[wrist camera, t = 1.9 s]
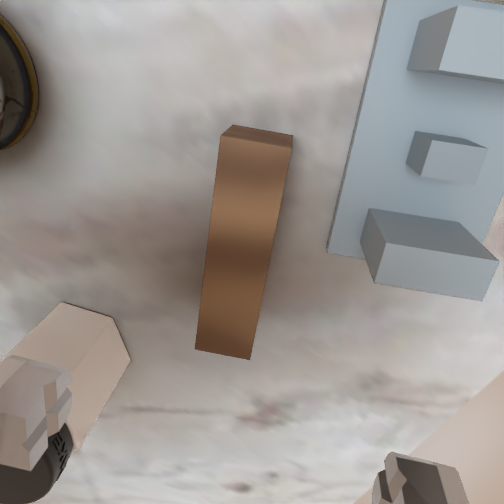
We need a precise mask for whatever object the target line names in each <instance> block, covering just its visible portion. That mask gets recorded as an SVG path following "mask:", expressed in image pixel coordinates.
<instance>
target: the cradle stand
mask: <svg viewBox="0 0 504 504" xmlns="http://www.w3.org/2000/svg"><path fill="white" fill-rule="evenodd" d="M503 193H504V5H502V4H495V3H487V2H480V1H473V0H384V3H383V8H382V12H381V16H380V20H379V25H378V29H377V33H376V37H375V42H374V46H373V50H372V55H371V59H370V63H369V67H368V72H367V76H366V80H365V84H364V89H363V93H362V97H361V102H360V106H359V110H358V114H357V119H356V123H355V127H354V131H353V136H352V140H351V144H350V149H349V153H348V157H347V161H346V166H345V170H344V174H343V178H342V183H341V187H340V191H339V196H338V200H337V204H336V208H335V213H334V217H333V221H332V225H331V230H330V234H329V238H328V243H327V247H326V248H327V253H330V254H337V255H343V256H349V257H355V258H361V259H366V261H367V264H368V267H369V270H370V273H371V276H372V278H373V281H374V283H376V284H382V285H388V286H394V287H400V288H406V289H411V290H417V291H423V292H429V293H435V294H441V295H447V296H453V297H459V298H465V299H471V300H477V301H482V300H483V298H484V296H485V294H486V291H487V289H488V287H489V285H490V282H491V280H492V278H493V276H494V273H495V271H496V269H497V267H498V264H499V262H500V261H499V260H498V259H497V258H496V257H495V256H494V255H493V254H491V253H490V252H489V251H488V250H487V249H486V248H485V247H484V246H483V245H482V244H483V242H484V239H485V237H486V234H487V232H488V230H489V227H490V225H491V222H492V220H493V217H494V215H495V213H496V210H497V208H498V205H499V203H500V201H501V198H502V196H503Z"/></svg>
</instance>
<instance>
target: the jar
mask: <svg viewBox="0 0 504 504" xmlns="http://www.w3.org/2000/svg"><path fill="white" fill-rule="evenodd" d="M11 355H16V356H20V357H23V358H27V359H31V360H35V361H38V362H42V363H45V364H49V365H52V366H56V367H59V368H63V369H66V370H69V371H71V376H72V381H71V383H70V384H69V385H68V389H69V390H70V391H71V393H72V405H71V410H70V412H69V415H68V417H67V419H66V421H65V423H64V424H63V426H62V427H61V429H60V430H59V431H58V432H57V433H55V434H53V435H51V436H49V437H47V438H48V448H47V449H46V450H45V452H44V453H43V455H42V456H41V458H40V459H39V460H38V462H37V463H36V465H35V466H34V468H33V469H32V470H31V471H28V470H24V469H19V468H15V467H11V466H7V465H2V464H0V504H28V503H32V502H35V501H37V500H39V499H41V498H42V497H44V496H45V495H46V494H47V493H48V492H49V491H50V489H51V488H52V486H53V484H54V483H55V482H56V481H57V480H58V478H59V477H60V475H61V473H62V471H63V470H64V468H65V466H66V464H67V461H68V459H69V457H70V455H71V454H73V453H74V452H75V451H77V450H78V449H79V448H80V447H81V446H82V444H83V442H84V441H85V439H86V437H87V435H88V434H89V432H90V430H91V429H92V427H93V425H94V423H95V422H96V420H97V418H98V416H99V415H100V413H101V411H102V409H103V408H104V406H105V404H106V402H107V401H108V399H109V397H110V396H111V394H112V392H113V390H114V389H115V387H116V385H117V383H118V382H119V380H120V378H121V376H122V375H123V373H124V371H125V369H126V368H127V366H128V364H129V363H130V357H129V355H128V352H127V350H126V348H125V345H124V343H123V341H122V338H121V336H120V334H119V332H118V329H117V327H116V325H115V322H114V320H113V318H111V317H108V316H105V315H102V314H99V313H95V312H92V311H89V310H86V309H82V308H79V307H76V306H73V305H69V304H66V303H63V302H62V303H59V304H58V305H57V306H56V307H55V308H54V309H53V310H52V311H51V312H50V313H49V314H48V315H47V316H46V317H45V318H44V319H43V320H42V321H41V322H40V323H39V324H38V325H37V326H36V327H35V328H34V329H33V330H32V331H31V332H30V333H29V334H28V335H27V336H26V337H25V338H24V339H23V340H22V341H21V342H20V343H19V344H18V345H16V346H15V347H14V348H13V349H12V350H11V351H10V352H9V353H8V354H7V355H6V356H5V357H4V358H3V359H2V360H1V361H0V363H1V362H2V361H3V360H4V359H5V358H7V357H9V356H11Z"/></svg>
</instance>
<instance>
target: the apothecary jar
mask: <svg viewBox="0 0 504 504" xmlns="http://www.w3.org/2000/svg"><path fill="white" fill-rule="evenodd" d="M37 107H38V83H37V77H36V73H35V69H34V66H33V63H32V60H31V58H30V55H29V53H28V51H27V49H26V47H25V45H24V44H23V42H22V40H21V39H20V37H19V36H18V34H17V33H16V31H15V30H14V29H13V28H12V26H11V25H10V24H9V23H8V22H7V20H6V19H5V18H4V17H3V16H2V15H0V150H3V149H6V148H8V147H11V146H13V145H14V144H16V143H17V142H18V141H20V140H21V139H22V138H23V137H24V136H25V134H26V133H27V132H28V130H29V129H30V127H31V125H32V123H33V121H34V118H35V115H36V111H37Z"/></svg>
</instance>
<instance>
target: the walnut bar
mask: <svg viewBox="0 0 504 504" xmlns="http://www.w3.org/2000/svg"><path fill="white" fill-rule="evenodd" d="M292 137H293V135H287V134H282V133H276V132H271V131H265V130H260V129H254V128H248V127H243V126H237V125H232V126H231V127H230V128H229V129H228V130H227V131H225V132H224V133H223V134H222V135H221V136H220V145H219V153H218V161H217V170H216V178H215V186H214V194H213V203H212V211H211V219H210V227H209V236H208V244H207V252H206V261H205V269H204V277H203V285H202V294H201V302H200V310H199V318H198V327H197V335H196V343H195V349H196V350H201V351H206V352H211V353H216V354H222V355H227V356H232V357H237V358H242V359H247V360H250V357H251V352H252V347H253V342H254V337H255V332H256V327H257V322H258V317H259V311H260V306H261V301H262V296H263V291H264V286H265V281H266V276H267V271H268V266H269V261H270V256H271V250H272V245H273V240H274V235H275V230H276V225H277V220H278V215H279V210H280V205H281V200H282V195H283V190H284V184H285V179H286V174H287V169H288V164H289V159H290V154H291V149H292Z"/></svg>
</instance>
